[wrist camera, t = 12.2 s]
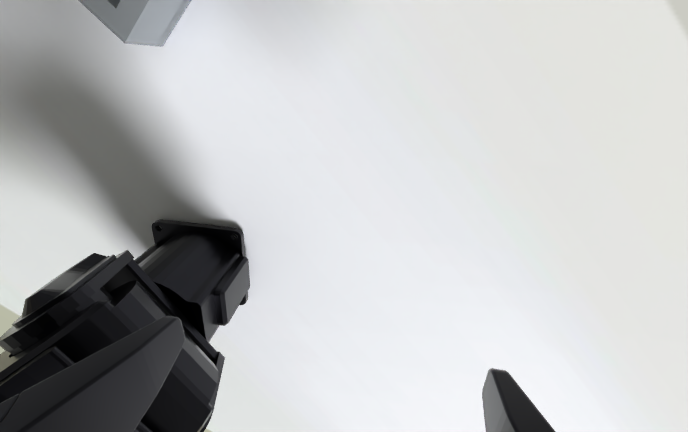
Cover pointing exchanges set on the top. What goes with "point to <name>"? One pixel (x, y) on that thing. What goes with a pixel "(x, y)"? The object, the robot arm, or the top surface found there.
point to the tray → (139, 18)
